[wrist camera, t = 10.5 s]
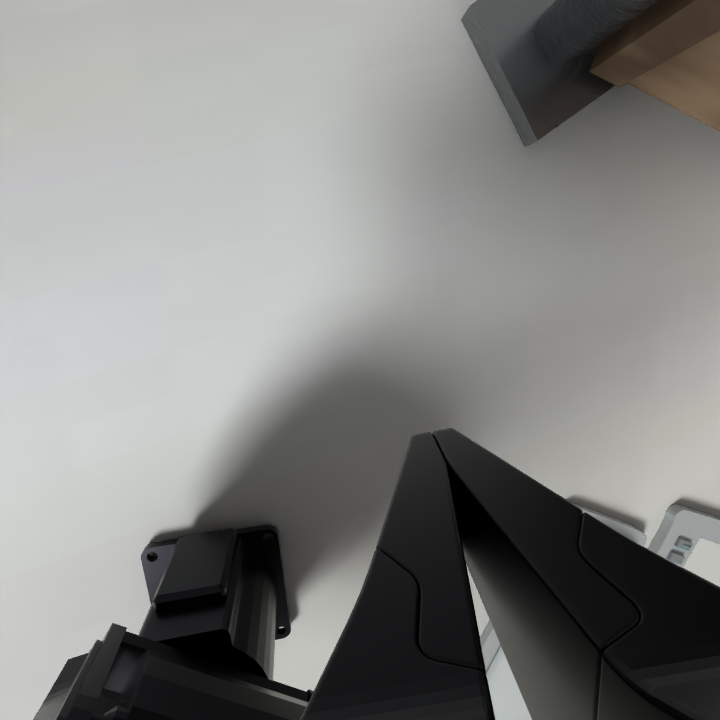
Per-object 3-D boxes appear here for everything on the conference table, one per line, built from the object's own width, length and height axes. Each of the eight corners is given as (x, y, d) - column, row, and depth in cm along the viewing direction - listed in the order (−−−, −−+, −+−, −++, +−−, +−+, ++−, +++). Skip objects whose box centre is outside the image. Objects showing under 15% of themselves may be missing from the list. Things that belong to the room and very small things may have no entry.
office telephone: (429, 780, 24) (590, 475, 22) (417, 732, 27) (560, 454, 24) (725, 834, 29) (886, 589, 27) (691, 789, 32) (835, 561, 29)
